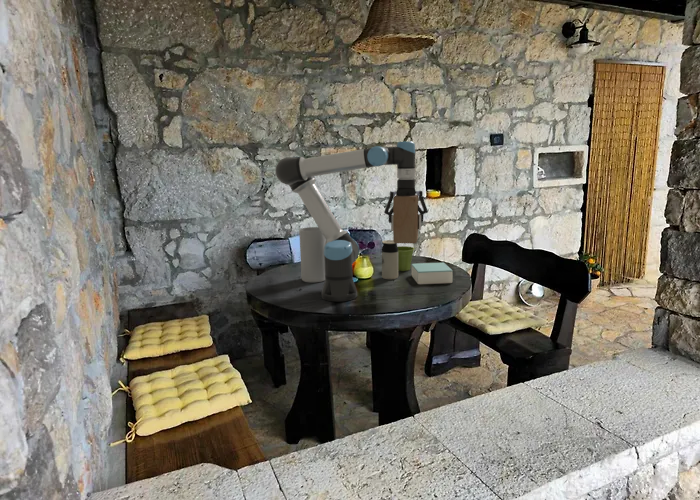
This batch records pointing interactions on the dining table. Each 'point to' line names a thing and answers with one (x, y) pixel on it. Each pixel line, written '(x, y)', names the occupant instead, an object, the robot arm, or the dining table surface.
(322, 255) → the cylinder vase
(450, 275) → the base brick
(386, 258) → the travel mug
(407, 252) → the plant pot
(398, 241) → the wooden block
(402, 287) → the dining table surface
